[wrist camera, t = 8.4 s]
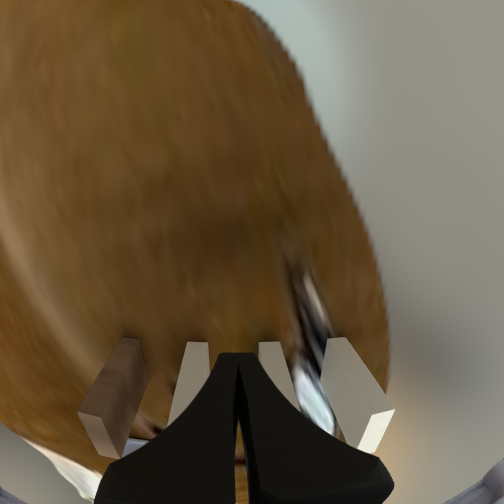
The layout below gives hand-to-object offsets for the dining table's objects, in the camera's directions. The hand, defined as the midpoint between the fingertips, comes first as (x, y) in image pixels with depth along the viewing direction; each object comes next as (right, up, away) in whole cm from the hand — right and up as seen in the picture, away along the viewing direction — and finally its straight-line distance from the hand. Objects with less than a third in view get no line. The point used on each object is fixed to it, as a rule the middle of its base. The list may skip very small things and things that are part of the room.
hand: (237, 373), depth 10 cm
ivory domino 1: (-4, -4, +11) cm, 13 cm away
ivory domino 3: (+7, -4, +12) cm, 15 cm away
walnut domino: (-9, -4, +11) cm, 15 cm away
